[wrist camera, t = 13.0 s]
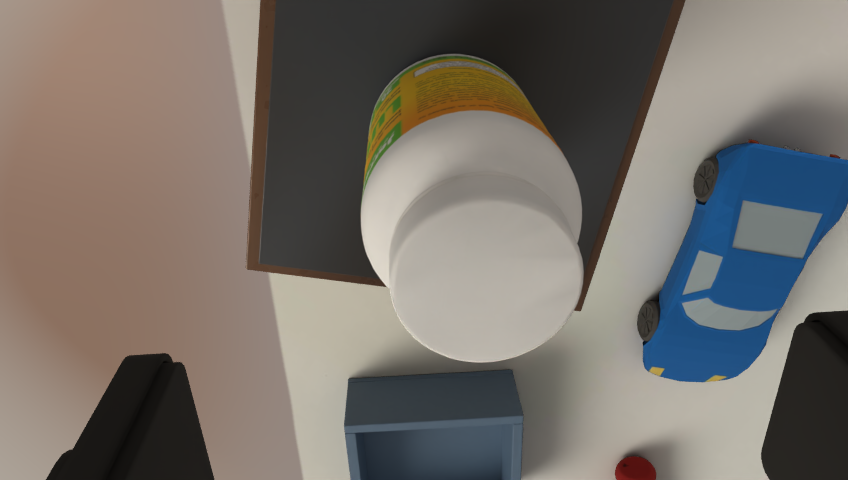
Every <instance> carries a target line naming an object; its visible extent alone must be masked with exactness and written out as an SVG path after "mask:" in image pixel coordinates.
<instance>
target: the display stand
mask: <svg viewBox="0 0 848 480" xmlns="http://www.w3.org/2000/svg"><path fill="white" fill-rule="evenodd" d="M684 3H685V0H261V2H260V20H259V38H258V56H257V74H256V92H255V110H254V128H253V146H252V164H251V182H250V200H249V218H248V219H249V220H248V237H247V255H246V269H248V270H255V271H263V272H271V273H279V274H287V275H295V276H303V277H311V278H319V279H327V280H335V281H343V282H351V283H359V284H367V285H375V286H383V287H387V286H386V285H385V284H384V283H383V282H382V280H381V279H380V278H379V276H378V275H377V273H376V272H375V270H374V269H373V267H372V265H371V263H370V260H369V258H368V256H367V254H366V251H365V247H364V243H363V238H362V231H361V202H362V194H363V184H364V175H365V165H366V156H367V146H368V135H369V127H370V122H371V118H372V114H373V111H374V108H375V105H376V103H377V101H378V99H379V97H380V95H381V94H382V92H383V91H384V89H385V88H386V86H387V85H388V84H389V83H390V82H391V81H392V79H393V78H394V77H395V76H397V75H398V74H399V73H400V72H401V71H403V70H404V69H406V68H407V67H409V66H411V65H412V64H414V63H416V62H418V61H421V60H423V59H426V58H429V57H433V56H437V55H443V54H463V55H470V56H474V57H477V58H481V59H483V60H486V61H488V62H490V63H492V64H494V65H496V66H497V67H499V68H500V69H502V70H503V71H504V72H506V73H507V74H508V75H509V76H510V77H511V78H512V79H513V80H514V81H515V82H516V84H517V85H518V86H519V87H520V89H521V90H522V92H523V93H524V95H525V96H526V98H527V99H528V101H529V103H530V104H531V106H532V107H533V109H534V111H535V112H536V114H537V115H538V117H539V118H540V120H541V121H542V122H543V124H544V126H545V127H546V129H547V130H548V132H549V133H550V135H551V136H552V137H553V139H554V141H555V142H556V144H557V145H558V147H559V148H560V149H561V151H562V153H563V154H564V156H565V158H566V160H567V162H568V164H569V166H570V168H571V170H572V172H573V174H574V176H575V179H576V182H577V184H578V188H579V192H580V197H581V204H582V223H581V231H580V235H579V240H578V243H577V244H578V246H579V250H580V253H581V256H582V261H583V271H584V273H583V286H582V290H581V294H580V297H579V300H578V303H577V305H576V307H575V309H574V310H575V311H581V309H582V306H583V303H584V300H585V297H586V294H587V291H588V288H589V285H590V283H591V280H592V277H593V274H594V271H595V268H596V265H597V262H598V259H599V256H600V253H601V250H602V247H603V244H604V241H605V238H606V235H607V232H608V229H609V226H610V223H611V220H612V217H613V214H614V211H615V208H616V205H617V202H618V199H619V196H620V193H621V190H622V187H623V184H624V181H625V178H626V176H627V173H628V170H629V167H630V164H631V161H632V158H633V155H634V152H635V149H636V146H637V143H638V140H639V137H640V134H641V131H642V128H643V125H644V122H645V119H646V116H647V113H648V110H649V107H650V104H651V101H652V98H653V95H654V92H655V89H656V86H657V83H658V80H659V77H660V74H661V71H662V69H663V66H664V63H665V60H666V57H667V54H668V51H669V48H670V45H671V42H672V39H673V36H674V33H675V30H676V27H677V24H678V21H679V18H680V15H681V12H682V9H683V6H684Z"/></svg>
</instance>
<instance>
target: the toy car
mask: <svg viewBox="0 0 848 480" xmlns="http://www.w3.org/2000/svg"><path fill="white" fill-rule="evenodd" d="M788 149H789V147H788V146H784V148H778V147H773V146H767V145H762V144H759V143H758V142H757V141H755V140H750V139H749V141H748V143H745V144H738V145H733V146H730V147H728V148H726V149H723V150H721V151H720V152H719V153H718V154H717V155H716V157H717V158H714V157H710V158H708V159H706V160H705V161H704V162H703V163H702V164H701V165H700V166H699V168H698V170H697V172H696V175H695V178H694V193H695V195H696V197H697V199H696V206H695V210H694V213H693V216H692V220H691V223H690V226H689V228H688V231H687V233H686V236H685V238H684V240H683V243H682V245H681V247H680V250H679V252H678V254H677V256H676V259H675V261H674V263H673V265H672V267H671V270H670V272H669V274H668V276H667V279H666V281H665V283H664V285H663V288H662V290H661V291H660V293H659V302H655V301H647V302H646V303H645V304H644V305H643V306H642V308H641V309H640V312H639V315H638V321H637V326H638V331H639V334H640V336H641V338H642V339H643V340H644V342H643V363H644V367H645V369H646V370H647V371H648V372H651V373H653V374H655V375H658V376H660V377H664V378H669V379H673V380H677V381H686V382H710V381H720V380H726V379H730V378H733V377H736V376H738V375H739V374H740V373H742V372H743V371H744V370H746V369H747V368H749V367H750V365H751V364H752V363H753V362H754V361H755V360H756V358H757V357H758V356H759V355H760V353H761V352H762V350H763V348H764V347H765V345H766V342H767V338H768V336H769V333H770V330H771V327H772V324H773V321H774V319H775V317H776V316H777V314H778V312H779V310H780V309H781V308H782V306H783V304H784V302H785V301H786V299H787V297H788V295H789V293H790V291H791V289H792V287H793V285H794V283H795V281H796V280H797V278H798V276H799V274H800V273H801V271H802V269H803V268H804V265H805V263H806V261H807V259H808V257H809V256H810V254H811V253H812V251H813V250H814V249H815V247H816V246H817V245H818V243H819V242H820V241H821V239H822V238H823V237H824V236H825V235H826V233H827V232H828V231H829V230H830V229H831V228H832V227H833V226H834V225H835V224H836V223H837V222H838V221H839V219H840V218H841V216H842V214H843V212H844V210H845V209H846V207H847V203H848V160H844V159H840V157H839V156H837V155H833V154H830V156H829V157H827V156H821V155H815V154H810V153H804V152H799V150H800V149H799V148H795V150H794V151H793V150H788Z"/></svg>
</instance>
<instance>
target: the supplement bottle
mask: <svg viewBox="0 0 848 480" xmlns="http://www.w3.org/2000/svg"><path fill="white" fill-rule="evenodd" d="M581 223H582V204H581V197H580V192H579V188H578V184H577V182H576V179H575V176H574V174H573V172H572V170H571V168H570V166H569V164H568V162H567V160H566V158H565V156H564V154H563V153H562V151H561V149H560V148H559V147H558V145H557V144H556V142H555V141H554V139H553V137H552V136H551V135H550V133H549V132H548V130H547V129H546V127H545V126H544V124H543V122H542V121H541V120H540V118H539V117H538V115H537V114H536V112H535V111H534V109H533V107H532V106H531V104H530V103H529V101H528V99H527V98H526V96H525V95H524V93H523V92H522V90H521V89H520V87H519V86H518V85H517V84H516V82H515V81H514V80H513V79H512V78H511V77H510V76H509V75H508V74H507V73H506V72H504V71H503V70H502V69H500V68H499V67H497V66H496V65H494V64H492V63H490V62H488V61H486V60H483V59H481V58H477V57H474V56H470V55H463V54H443V55H437V56H433V57H429V58H426V59H423V60H421V61H418V62H416V63H414V64H412V65H411V66H409V67H407V68H406V69H404V70H403V71H401V72H400V73H399V74H398V75H397V76H395V77H394V78H393V79H392V81H391V82H390V83H389V84H388V85H387V86H386V88H385V89H384V91H383V92H382V94H381V95H380V97H379V99H378V101H377V103H376V105H375V108H374V111H373V114H372V118H371V122H370V127H369V135H368V146H367V156H366V165H365V175H364V184H363V194H362V202H361V231H362V238H363V243H364V247H365V251H366V254H367V256H368V258H369V260H370V263H371V265H372V267H373V269H374V270H375V272H376V273H377V275H378V276H379V278H380V279H381V280H382V282H383V283H384V284H385V285H386V286H387V287H388V288H389V289H390V295H391V299H392V303H393V306H394V309H395V311H396V313H397V316H398V318H399V320H400V321H401V323H402V324H403V326H404V327H405V328H406V330H407V331H408V332H409V333H410V334H411V335H412V336H413V337H414V338H415V339H416V340H417V341H419V342H420V343H421V344H422V345H424V346H425V347H427V348H428V349H430V350H432V351H434V352H436V353H438V354H440V355H443V356H445V357H448V358H451V359H456V360H460V361H467V362H480V363H483V362H495V361H501V360H506V359H510V358H513V357H517V356H519V355H522V354H524V353H527V352H529V351H531V350H533V349H535V348H537V347H538V346H540V345H542V344H543V343H545V342H546V341H547V340H549V339H550V338H551V337H553V336H554V335H555V334H556V333H557V332H558V331H559V330H560V329H561V328H562V327H563V326H564V324H565V323H566V322H567V320H568V319H569V318H570V316H571V315H572V313H573V311H574V309H575V307H576V305H577V303H578V300H579V297H580V294H581V290H582V286H583V273H584V271H583V261H582V256H581V253H580V250H579V246H578V244H577V243H578V240H579V235H580V231H581Z"/></svg>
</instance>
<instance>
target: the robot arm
mask: <svg viewBox="0 0 848 480" xmlns="http://www.w3.org/2000/svg"><path fill="white" fill-rule="evenodd" d="M761 459H762V464H763V468H764V470H765V473H766V474H767V476H768V478H769V479H770V480H848V311H833V312H817V313H812V314H809V315H808V316H807V317H806V319H805V321H804V323H801V324H798V325H797V326H796V328H795V330H794V333H793V337H792V341H791V344H790V348H789V352H788V355H787V359H786V363H785V366H784V370H783V374H782V377H781V381H780V385H779V388H778V392H777V396H776V399H775V403H774V407H773V410H772V414H771V418H770V421H769V425H768V429H767V432H766V436H765V440H764V443H763V447H762V452H761ZM46 480H214V476H213V473H212V469H211V465H210V461H209V457H208V453H207V450H206V446H205V442H204V438H203V434H202V430H201V427H200V423H199V419H198V415H197V411H196V408H195V404H194V400H193V396H192V392H191V388H190V385H189V381H188V377H187V373H186V370H185V367H184V365H183V364H182V363H180V362H174V363H173V361H172V359H171V357H170V356H169V354H166V353H162V354H146V355H131V356H127V357H125V359H124V360H123V361H122V363H121V365H120V366H119V368H118V370H117V372H116V374H115V375H114V377H113V379H112V381H111V382H110V384H109V386H108V388H107V390H106V391H105V393H104V395H103V397H102V398H101V400H100V402H99V404H98V406H97V407H96V409H95V411H94V413H93V414H92V416H91V418H90V420H89V421H88V423H87V425H86V427H85V429H84V430H83V432H82V434H81V436H80V437H79V439H78V441H77V443H76V444H75V447H74V448H73V450H69V451H67V452H66V453H64V454H62V456H61V457H60V458H59V459H58V461H57V462H56V463H55V465H54V467H53V468H52V470H51V472H50V474H49V476H48V477H47V479H46Z"/></svg>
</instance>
